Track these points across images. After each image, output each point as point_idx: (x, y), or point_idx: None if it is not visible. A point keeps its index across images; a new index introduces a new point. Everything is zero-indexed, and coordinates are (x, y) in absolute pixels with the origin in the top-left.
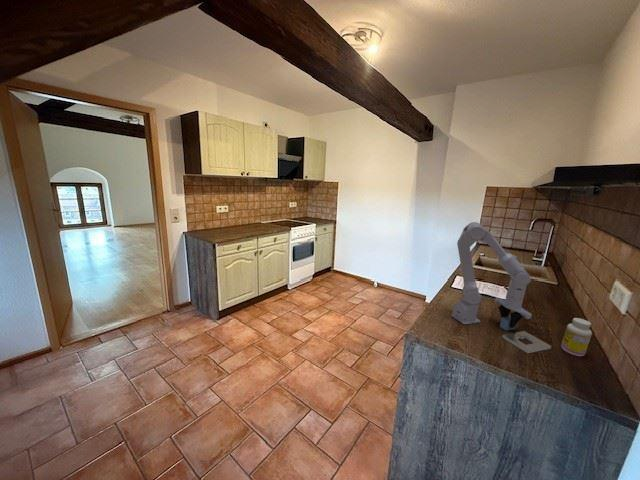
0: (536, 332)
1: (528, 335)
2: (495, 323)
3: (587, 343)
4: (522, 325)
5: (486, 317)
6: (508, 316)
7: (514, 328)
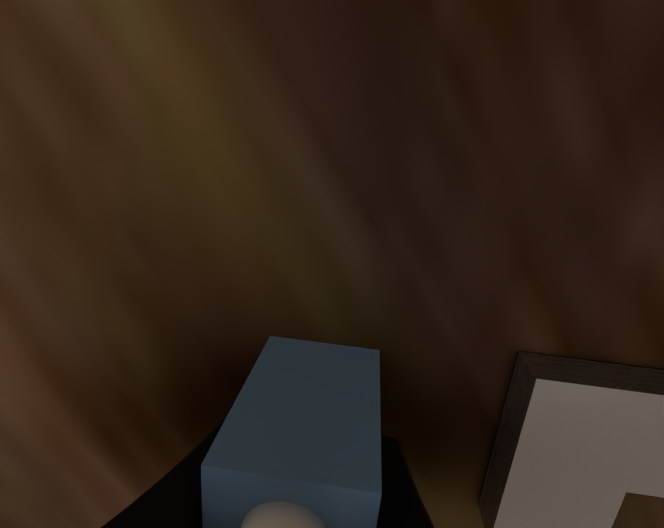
0: (620, 75)
1: (640, 455)
2: (190, 451)
3: None
4: (351, 82)
5: (39, 415)
6: (205, 517)
7: (378, 365)
